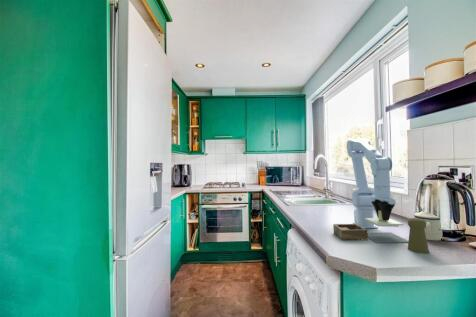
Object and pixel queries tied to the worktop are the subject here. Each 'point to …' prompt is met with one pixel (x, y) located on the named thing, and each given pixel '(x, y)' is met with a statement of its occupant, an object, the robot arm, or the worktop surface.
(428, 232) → the teacup with lid
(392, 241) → the slate mat
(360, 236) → the box
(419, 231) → the olive pepper mill
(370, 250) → the worktop surface
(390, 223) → the lid
